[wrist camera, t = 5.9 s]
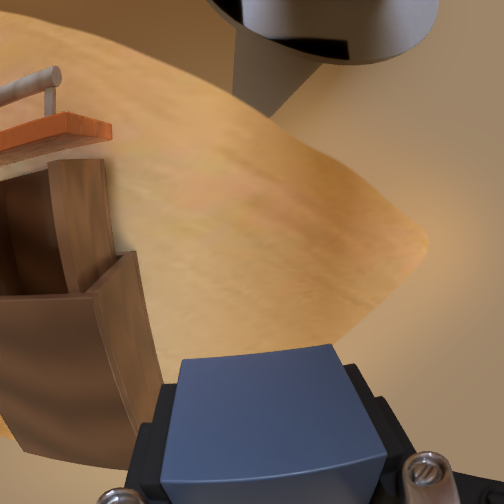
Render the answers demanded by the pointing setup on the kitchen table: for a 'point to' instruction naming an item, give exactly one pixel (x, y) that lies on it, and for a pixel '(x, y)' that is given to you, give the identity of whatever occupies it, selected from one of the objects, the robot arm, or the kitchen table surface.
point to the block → (270, 432)
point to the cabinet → (80, 369)
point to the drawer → (52, 200)
